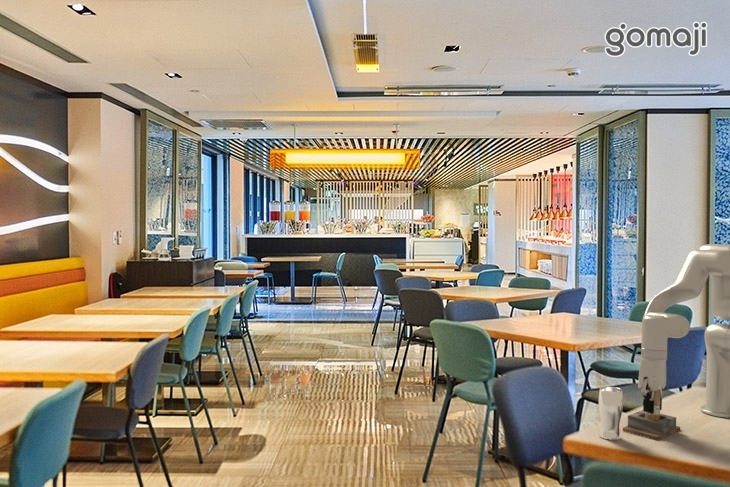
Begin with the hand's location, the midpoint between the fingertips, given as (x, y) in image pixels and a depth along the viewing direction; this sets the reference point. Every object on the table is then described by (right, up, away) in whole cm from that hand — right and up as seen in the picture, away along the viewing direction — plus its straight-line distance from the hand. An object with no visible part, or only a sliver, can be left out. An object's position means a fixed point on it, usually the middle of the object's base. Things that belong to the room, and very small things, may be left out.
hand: (652, 410), depth 201 cm
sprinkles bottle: (0, -5, 0) cm, 5 cm away
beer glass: (-16, -7, -7) cm, 19 cm away
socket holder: (0, -7, 0) cm, 7 cm away
